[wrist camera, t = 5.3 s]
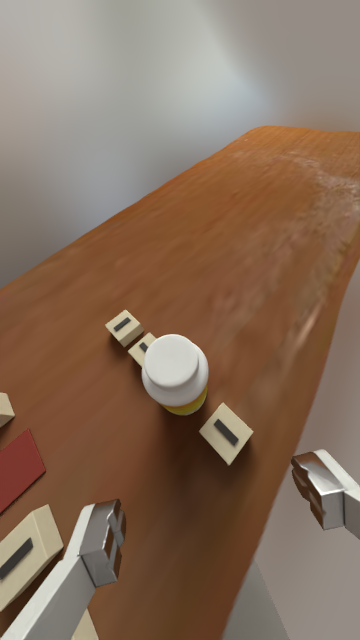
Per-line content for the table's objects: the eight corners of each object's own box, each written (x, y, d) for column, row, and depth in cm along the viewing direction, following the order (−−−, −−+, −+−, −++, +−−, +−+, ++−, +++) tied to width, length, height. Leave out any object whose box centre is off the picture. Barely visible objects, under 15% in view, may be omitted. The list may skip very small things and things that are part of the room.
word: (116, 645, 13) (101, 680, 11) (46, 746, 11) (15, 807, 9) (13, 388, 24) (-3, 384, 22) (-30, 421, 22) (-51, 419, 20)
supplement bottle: (216, 393, 21) (227, 364, 12) (178, 427, 20) (160, 421, 11) (186, 357, 24) (178, 312, 15) (150, 385, 22) (118, 353, 14)
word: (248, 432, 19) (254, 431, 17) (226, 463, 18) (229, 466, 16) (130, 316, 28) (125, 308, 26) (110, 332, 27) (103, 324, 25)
